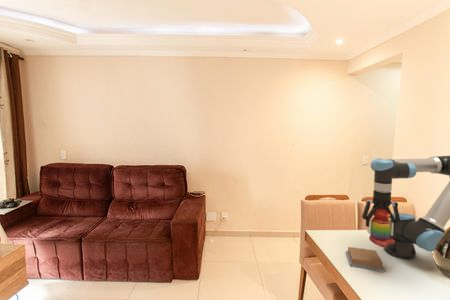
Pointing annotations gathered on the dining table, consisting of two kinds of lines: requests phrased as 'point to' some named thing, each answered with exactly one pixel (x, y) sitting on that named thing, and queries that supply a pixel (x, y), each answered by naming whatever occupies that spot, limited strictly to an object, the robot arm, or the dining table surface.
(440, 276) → the dining table surface
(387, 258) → the dining table surface
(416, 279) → the dining table surface
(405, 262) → the dining table surface
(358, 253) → the board
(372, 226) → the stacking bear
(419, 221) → the robot arm
